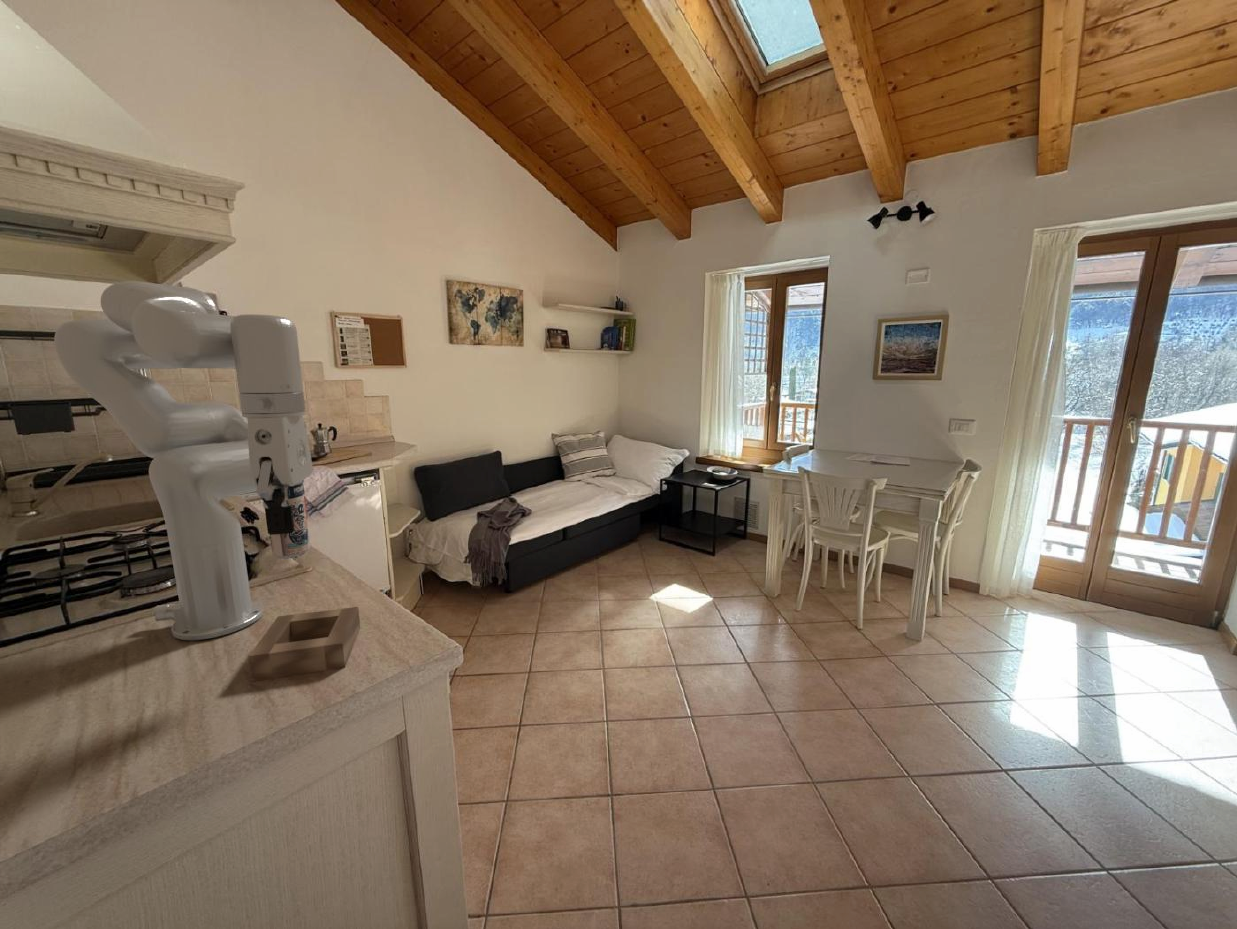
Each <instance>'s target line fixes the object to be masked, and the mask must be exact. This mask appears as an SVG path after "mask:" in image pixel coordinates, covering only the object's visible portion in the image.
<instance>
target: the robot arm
mask: <svg viewBox="0 0 1237 929" xmlns="http://www.w3.org/2000/svg"><path fill="white" fill-rule="evenodd" d="M100 307H101V309H102V312H103V313H104V314H105V316H106V317H107V318H102V317H101V318H97V317H96V318H95V317H94V318H92V317H91V318H80V319H73V320H70V321H68V322H65V323H64V322H63V324H61V325H60V326H59V327H58V328H57V329H56V331H55V334H54V342H53V343H54V347H55V351H56V355H57V357H58V360H59V361H60V362H59V363H60V364H61V366H62V368H63V370H64V371H65V372H66V373H67V375H68V376H69V377H70V379H71V380H72V381H73V382H74V383H75V384H76V386H78V387H79V389H81V390H82V391H83V392H84V393H85V394H87V395H88V396H89V397H91V398H92V399H93V400H95V401H97V403H99V404H100V405H101V406H103V407H104V409H105V410H106V411H107V412H108V413H109V414H110V416H111V417H112V418H113V420H114V421H115V422H116V423H117V425H118V426H119V427H120V429H121V430H122V431H123V433H124V434H125V435H126V437H127V438H128V439H129V440H130V442H132V445H134V446H135V447H136V448H137V449H138V450H139V451H140V452H141V453H142V454H143V455H144V456H146V457H149V458H151V459H152V461H151V462H150V464H149V467H148V477H149V481H150V484H151V487H152V488H153V491H154V493H155V496H156V499H157V501H158V503H159V505H160V509H161V511H162V512H161V513H162V515H163V518H164V523H165V527H166V533H167V539H168V545H169V549H170V556H171V559H172V566H173V572H174V578H175V584H176V590H177V594H178V602H177V603H174V604H171V603H167V604H161V605H156V606H155V607H154V610H153V614H154V615H153V616H154V620H155V621H156V622H162V621H167V620H172V621H174V623H173V624H172V626H171V634H172V636H173V637H174V638H176V639H177V640H181V641H182V640H183V641H201V640H202V641H204V640H208V639H209V640H210V639H214V638H218V637H223V636H225V635H229V634H233V633H235V632H238V631H240V630H242V629H244V628H247V627H248V626H250V625H252V624H254V623H255V622H257V621H258V620H259V619H260V618H261V617H262V616H263V614H264V606H263V604H262V603H261V602H259V601H256V600H252V597H251V590H250V584H249V583H250V582H249V576H248V569H247V568H248V567H247V562H246V553H245V547H244V541H243V540H244V539H243V534H242V527H241V523H240V520H239V519H238V517H237V516H236V515H235V514H234V513H233V511H230V510H229V509H228V508H226V507H225V506H224V505H222V503H221V502H220V501H221V500H223V499H228V498H231V497H237V496H241V495H242V496H243V495H246V494H250V493H255V492H257V494H258V496H260V497H261V498H260V499H261V500H262V505H263V508H264V512H265V521H266V527H267V528H266V530H267V534H268V535H269V536H270V535H274V534H288V533H293V532H294V530H295V529H294V521H293V512H292V506H288V504H289V501H288V486H295V485H296V484H298V483H300V482H301V481H303V483H304V482H305V480H306V479H307V478H309V477H310V476H311V475H312V474H313V471H314V468H313V466H314V465H313V460H312V456H311V455H312V454H311V453H312V452H311V448H310V442H309V437H308V436H309V435H308V430H307V426H306V423H305V418H304V415H307V412H306V405H305V404H306V403H305V393H304V387H303V385H304V384H303V378H302V368H301V360H300V357H301V356H300V349H299V340H298V339H299V338H298V331H297V330H298V329H297V326H296V325H295V323H294V322H293V321H292V320H291V319H289V318H287V317H285V316H284V317H283V316H278V315H273V314H272V315H270V314H246V313H245V314H239V315H235V316H234V315H225V314H220V312H219V309H218V307H217V305H216V302H215V301H214V300H213V299H212V298H211V297H210V296H209V295H208V294H206V292H205V293H204V292H203V291H201V290H200V289H196V288H192V287H189V286H188V287H185V286H178V285H170V284H163V283H155V282H148V281H141V280H140V281H139V280H125V281H119V282H115V283H113V284H111V285H109V286H108V287H106V288H105V289H104V290H103V292H102V294H101V297H100ZM133 369H134V370H135V369H136V370H137V369H138V370H140V369H142V370H143V369H144V370H145V369H146V370H150V369H151V370H159V369H160V370H166V369H167V370H171V369H172V370H175V369H229V370H230V369H233V370H234V369H235V373H236V378H237V388H238V397H239V403H240V409H241V411H240V410H239V409H238V408H236V407H235V406H233V405H231V404H228V403H226V402H220V401H204V402H203V401H201V402H182V401H177V400H176V399H175V398H173V397H172V396H171V394H170V393H169V391H168V390H167V389H166V388H165V387H164V386H162V385H161V384H160V383H159V382H157V381H156V380H154V379H152V378H150V377H148V376H146V375H144V374H142V373H140V372H137V371H134V370H133ZM273 481H280V482H281V483H282V485H272V483H273ZM274 490H281V496H280V494H279V493H278V492H274ZM303 490H304V498H305V499H306V497H305V492H306V491H305V487H304V485H303ZM306 505H307V503H306V502H305V507H306ZM306 508H307V507H306ZM307 512H308V511H306V516H307V517H308V514H307Z"/></svg>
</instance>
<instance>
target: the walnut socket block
mask: <svg viewBox="0 0 1237 929" xmlns="http://www.w3.org/2000/svg"><path fill="white" fill-rule="evenodd" d="M360 623H361V622H360V610H359V606H355V607H354V606H353V607H345V608H337V609H328V610H319V611H313V612H304V613H303V612H302V613H295V614H289V615H279V616H277V617H276V618H275V619H274V621H273V623H272V624H271V626H269V628H268V629H267V631H266V632H265V633H264V634H263V636H262V637H261V639H260V640H259V641H258V643H257V644H256V645H255V647H254V648H253V650H252V651H251V652H250V654H249V655H248V660H249V666H250V667H249V670H250V675H251V681H252V682H257V681H263V680H269V679H275V678H277V679H278V678H283V677H290V676H296V675H302V674H308V673H309V674H310V673H315V672H323V671H329V670H335V669H342V668H346V666H347V663H348V661H349V658H350V656H351V653H352V650H353V648H354V644H355V643H356V640H357V637H358V635H359V632H360V630H361V624H360Z"/></svg>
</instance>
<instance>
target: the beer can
mask: <svg viewBox="0 0 1237 929" xmlns="http://www.w3.org/2000/svg"><path fill="white" fill-rule="evenodd" d="M272 485H282V483H281V482H280V481H273V483H272ZM303 486H304V482H303V481H301V482H300V483H298V484H296V485H295V486H288V501H289V504H288V506H292V512H293V521H294V529H295V530H294V532H293V533H288V534H274V535H270V534H269V538H270V539H269V540H270V546H271V553H272V556H273V557H276V558H278V559H293V558H298V557H301V556H303V555H304V554H306V553H307V552H309V551H310V550H311V542H310V534H309V526H308V515H307V516H306V512H307V507H305V503H306V497H305V498H304V496H305V494H304V490H305V489H304V490H303ZM274 492H278V493H279V494H280V496H281V490H274Z"/></svg>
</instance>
